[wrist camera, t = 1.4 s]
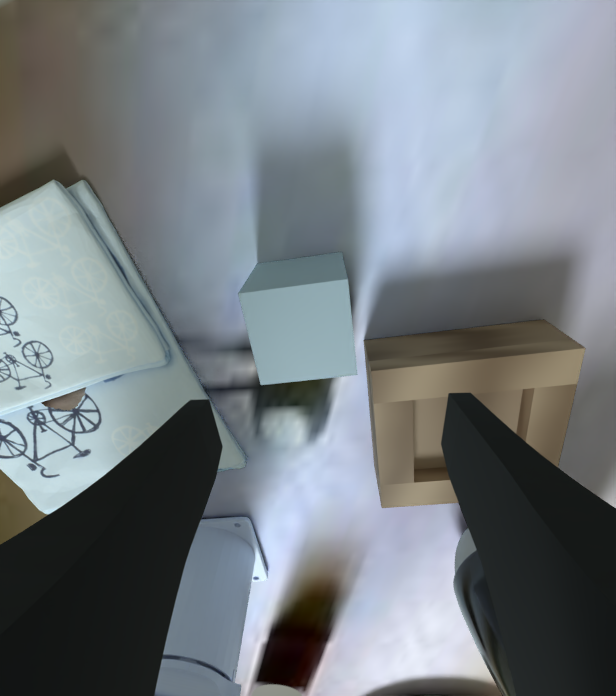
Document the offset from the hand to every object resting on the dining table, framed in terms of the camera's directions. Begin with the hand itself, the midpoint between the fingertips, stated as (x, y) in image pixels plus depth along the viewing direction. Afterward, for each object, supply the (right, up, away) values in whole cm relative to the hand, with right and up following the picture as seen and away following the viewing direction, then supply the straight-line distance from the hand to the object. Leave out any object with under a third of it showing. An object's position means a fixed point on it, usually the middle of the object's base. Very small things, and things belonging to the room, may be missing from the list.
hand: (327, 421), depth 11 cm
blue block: (-1, +5, +9) cm, 10 cm away
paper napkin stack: (-17, 0, +13) cm, 21 cm away
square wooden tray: (+8, -1, +12) cm, 14 cm away
